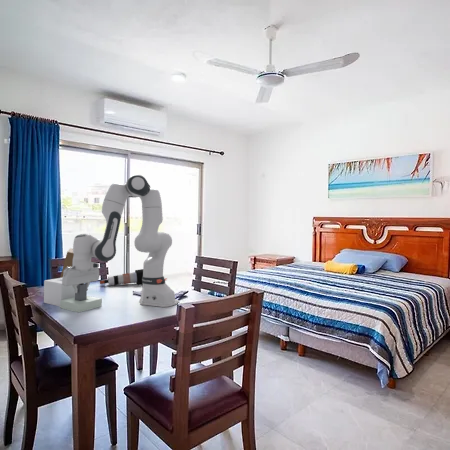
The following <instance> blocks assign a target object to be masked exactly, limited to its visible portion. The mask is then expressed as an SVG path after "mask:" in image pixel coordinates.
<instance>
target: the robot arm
mask: <svg viewBox="0 0 450 450" xmlns="http://www.w3.org/2000/svg"><path fill="white" fill-rule="evenodd" d="M103 198H104V199H103V202H102V206H101V213H102V215H103V217H104V218H105V221H106V225H105V230H104V234H103V236H102V237H103V238H102V239H99V238H96V237H94V236H93V235H91V234H90V233H81V234H78V235H76V236H75V237H74V239H73V243H72V245H73V246H72V249H73V253H74V256H73V266H72V267H67V268H66V269H64V271H63V279H62V284H63V285H64V286H71V285H72V287H73V288H74V293H79V289H77V284H82V283H84V284H87V292H88V290H89V287H90V284H91V283H92V282H96V281H97V282H98V281H99V279H100V269H99V267H100V264H99V263H98V262H93V261H92V258H94V259H95V258H96V259H98V260H100V261H101V262H104V263H105V262H109V261H112V260H113V259H114V258H115V256H116V255H117V254H116V253H117V245H116V243H117V237H118V234H119V230H120V225H121V219H122V215H123V212H124V208H125V205H126V202H127V200H128V198H140V201H141V211H142V212H141V214H142V224H141V227H140V231H139V232H138V234H137V236H136V237H135V238H134V241H133V242H134V247H135V249H136V251H137V252H141V253H144V254H145V253H147V254H148V255H147V258H146V259H145V260H144V261H143V267H142V269H143V276H142V283H143V284H142V287H141V288H142V289H141V293H140V298H139V305H142V306H152V307H161V308H167V307H173V306H175V305H176V306H177V303H178V304H179V303H180V300H178V299H176V295H175V294H176V293H175V292H174V290H173V289H172V288H171V287H170V286H169V285H168V284H167V283H166V281H167V280H168V277H167V278H165V276H164V265H165V260H166V259H165V258H166V257H167V256H166V255H167V253H168V250H169V249H170V248H171V247H172V245H173V239H172V236H171V235H170V234H169V233H166V232H162V231H160V232H159V227H160V225H161V224H162V223H163V220H164V217H163V205H162V197H161V193H160V191H159V190H158V189H157V188H153V187H151V185H150V184H149V182H148V181H147V179H146V178H145V176H143V175H141V174H132V175H131V176H130V177H129V178H128V179H127V180H126V182H125V183H119V182H114V183H112V184H111V185H110V186H109V188H108V189H107V192H106V193H105V196H104V197H103Z"/></svg>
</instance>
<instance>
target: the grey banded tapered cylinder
mask: <svg viewBox="0 0 450 450" xmlns="http://www.w3.org/2000/svg"><path fill="white" fill-rule="evenodd" d="M142 276H143V268H140V269H135V270H134V271H133V272H127V273H122V274H117V275H111V276H107V279H104V280H99V284H100V285H102V284H108V287H109V286H116V285H129V284H136V285H143V283H142Z"/></svg>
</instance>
